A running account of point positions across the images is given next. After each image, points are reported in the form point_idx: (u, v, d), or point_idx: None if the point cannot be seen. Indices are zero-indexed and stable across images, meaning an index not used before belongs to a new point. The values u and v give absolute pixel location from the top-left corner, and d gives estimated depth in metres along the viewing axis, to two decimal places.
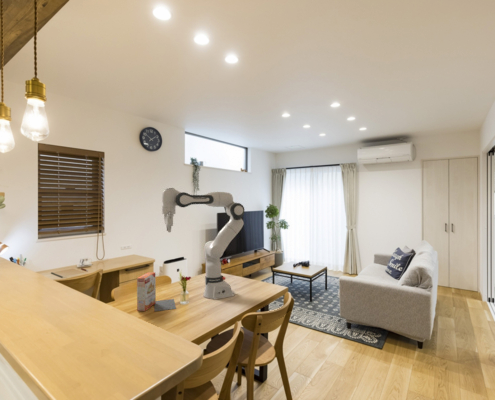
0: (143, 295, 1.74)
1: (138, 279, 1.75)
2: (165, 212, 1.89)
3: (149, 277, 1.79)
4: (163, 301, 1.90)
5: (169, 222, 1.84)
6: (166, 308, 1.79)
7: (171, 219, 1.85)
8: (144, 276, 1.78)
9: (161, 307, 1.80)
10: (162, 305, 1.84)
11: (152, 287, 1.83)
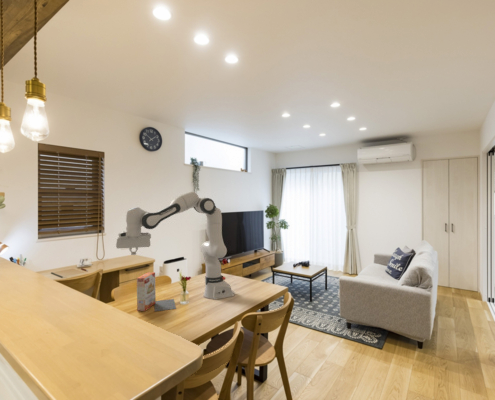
0: (143, 295, 1.74)
1: (138, 279, 1.75)
2: (139, 234, 1.78)
3: (149, 277, 1.79)
4: (163, 301, 1.90)
5: None
6: (166, 308, 1.79)
7: (149, 239, 1.83)
8: (144, 276, 1.78)
9: (161, 307, 1.80)
10: (162, 305, 1.84)
11: (152, 287, 1.83)
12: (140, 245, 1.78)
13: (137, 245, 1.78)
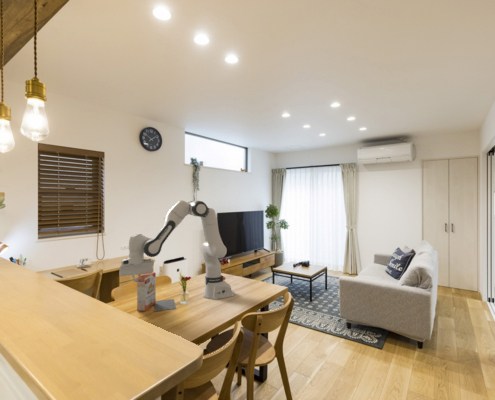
0: (143, 295, 1.74)
1: (138, 279, 1.75)
2: (142, 261, 1.78)
3: (149, 277, 1.79)
4: (163, 301, 1.90)
5: (152, 269, 1.82)
6: (166, 308, 1.79)
7: None
8: (144, 276, 1.78)
9: (161, 307, 1.80)
10: (162, 305, 1.84)
11: (152, 287, 1.83)
12: (143, 272, 1.79)
13: (140, 272, 1.78)
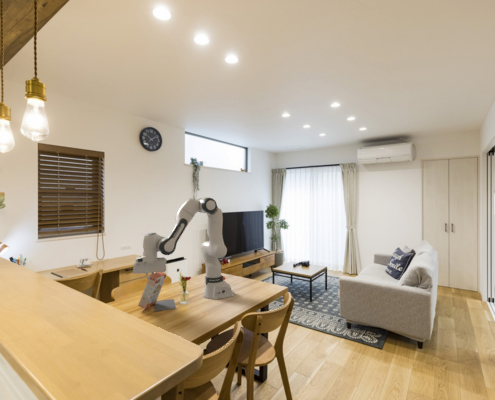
0: (149, 293, 1.75)
1: (150, 276, 1.75)
2: (155, 259, 1.81)
3: (160, 278, 1.80)
4: (163, 301, 1.90)
5: (165, 267, 1.85)
6: (166, 308, 1.79)
7: (165, 264, 1.86)
8: (156, 275, 1.78)
9: (161, 307, 1.80)
10: (162, 305, 1.84)
11: (159, 287, 1.83)
12: (156, 270, 1.81)
13: (153, 270, 1.81)
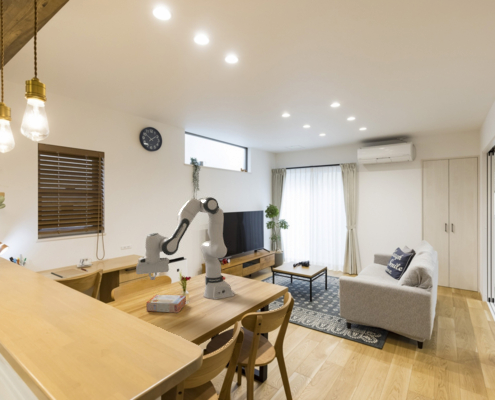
0: (161, 309, 1.73)
1: (176, 305, 1.72)
2: (158, 259, 1.81)
3: None
4: None
5: (168, 267, 1.85)
6: None
7: None
8: (180, 306, 1.75)
9: None
10: None
11: None
12: (159, 270, 1.82)
13: (156, 270, 1.82)
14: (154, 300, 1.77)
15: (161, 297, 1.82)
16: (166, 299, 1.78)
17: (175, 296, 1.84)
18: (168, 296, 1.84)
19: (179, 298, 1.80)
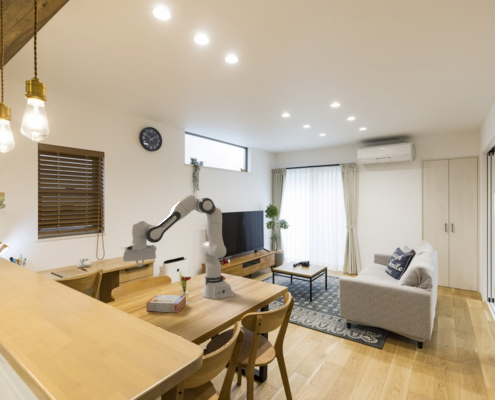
0: (161, 309, 1.73)
1: (176, 305, 1.72)
2: (145, 246, 1.84)
3: None
4: None
5: (155, 255, 1.88)
6: None
7: None
8: (180, 306, 1.75)
9: None
10: None
11: None
12: (146, 257, 1.85)
13: (143, 258, 1.84)
14: (154, 300, 1.77)
15: (161, 297, 1.82)
16: (166, 299, 1.78)
17: (175, 296, 1.84)
18: (168, 296, 1.84)
19: (179, 298, 1.80)
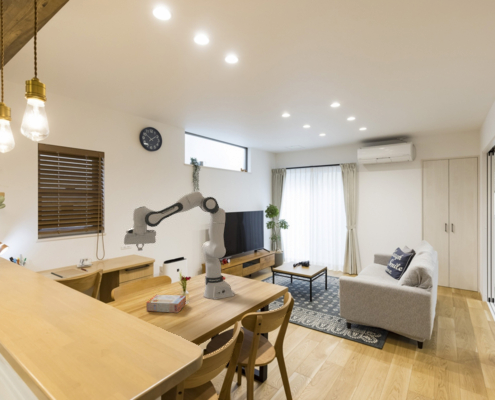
0: (161, 309, 1.73)
1: (176, 305, 1.72)
2: (145, 231, 1.90)
3: None
4: None
5: (155, 239, 1.94)
6: None
7: None
8: (180, 306, 1.75)
9: None
10: None
11: None
12: (146, 241, 1.91)
13: (143, 241, 1.90)
14: (154, 300, 1.77)
15: (161, 297, 1.82)
16: (166, 299, 1.78)
17: (175, 296, 1.84)
18: (168, 296, 1.84)
19: (179, 298, 1.80)
